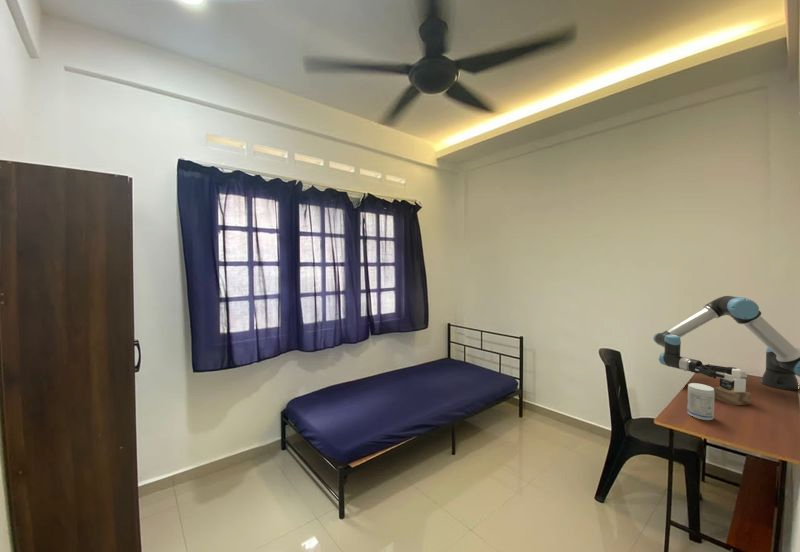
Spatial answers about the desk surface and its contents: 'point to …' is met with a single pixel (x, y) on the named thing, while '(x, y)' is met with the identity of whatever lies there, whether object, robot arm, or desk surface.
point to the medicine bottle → (735, 385)
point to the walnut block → (732, 396)
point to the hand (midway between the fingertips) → (740, 376)
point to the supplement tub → (700, 401)
